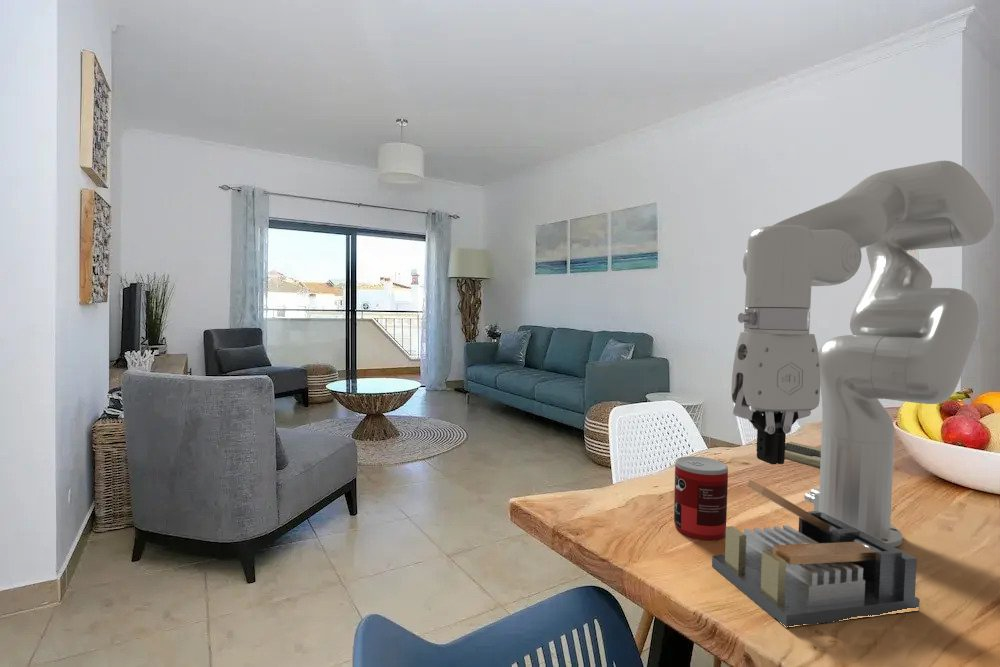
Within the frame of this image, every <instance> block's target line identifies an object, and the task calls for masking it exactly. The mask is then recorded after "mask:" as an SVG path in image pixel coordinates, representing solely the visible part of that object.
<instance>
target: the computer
mask: <svg viewBox="0 0 1000 667" xmlns="http://www.w3.org/2000/svg"><path fill="white" fill-rule="evenodd" d="M785 458H786V460H789V459H790V461H792V460H793V462H797V463H799V462H800V464H803V463H804V464H803V465H807V464H808V466H810V465H811V467H814V466H815V467H814V468H818V467H819V468H818V469H820V462H821V448H819V447H814V446H811V445H806V444H802V443H798V442H794V441H789V442H785Z"/></svg>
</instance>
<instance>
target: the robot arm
mask: <svg viewBox="0 0 1000 667" xmlns="http://www.w3.org/2000/svg"><path fill="white" fill-rule="evenodd" d="M994 221H995V214H994V208H993V205H992V203H991V200H990V198H989V196H988V195H987V194H986V192H985V191H984V189H982V187H981V185H980V184H979V183H978V181H977V180H976V179H975V178H974V176H973V175H972V174H971V172H970V171H968V170H967V169H966V168H965V167H963V166H962V165H961V164H959V163H957V162H954V161H951V160H937V161H932V162H925V163H920V164H915V165H910V166H903V167H898V168H893V169H888V170H882V171H880V172H877V173H874V174H871V175H870V176H867V177H865V178H864V179H863V180H861V181H859V183H857V184H856V185H854V186H853V187H852V188H850V189H849V190H848V191H846V192H845V193H844V194H842V195H841V196H840V197H838V198H837V199H834V200H832V201H829V202H826V203H823V204H821V205H819V206H816V207H814V208H811V209H810V210H805V211H804V212H801V213H799V214H796V215H795V214H794V215H793V216H790V217H788V218H786V219H785V218H784V220H783V219H782V220H781V221H778V222H777V223H775V224H773V225H769V226H763V227H760V228H757V229H754V230H753V231H751V233H750V235H749V236H748V240H747V248H746V249H745V252H744V254H743V260H742V268H743V272H744V274H745V278H746V279H745V301H744V312H740V313H739V314H738V315H737V316H738V317H737V321H738V322H739V323H740V324H743V327H744V328H743V331H741V332H739V336H738V340H737V345H736V349H735V352H734V359H733V366H732V375H731V400H732V402H733V403H734V407H733V411H732V413H733V415H734V416H735V417H739V418H742V419H746V420H748V421H749V422H750V423H751V425H752V428H753V429H754V430H756V432H757V433H756V457H757V458H756V459H758V460H760V461H763V462H765V463H768V464H769V465H784V464H785V443H786V434H790V433H791V431H792V426H793V425H794V424H795V423H796V422H797V420H800V419H804V418H806V417H809V416H811V414H812V411H813V410H816V409H817V408H818V407H819V404H820V401H821V411H822V412H821V413H822V416H821V440H820V442H821V443H820V449H821V462H820V468H819V488H818V487H814V488H812V489H811V490H810V492H807V493H805V494H804V500H805V501H807V502H808V503H809V502H810V504H813V511H819V512H823V513H825V514H827V515H829V516H831V517H833V518H835V519H837V520H839V521H841V522H843V523H845V524H847V525H849V526H851V527H854V528H856V529H858V530H860V531H862V532H864V533H866V534H868V535H870V536H872V537H874V538H876V539H878V540H880V541H882V542H884V543H886V544H888V545H890V546H893V547H895V548H897V547H899V546H901V545H902V543H903V537H904V535H903V534H902V532H901V531H900V530H899V529H898V528H897V527H895V526H894V525H892V524H891V522H892V521H891V518H892V498H893V497H892V495H893V494H892V493H893V477H894V475H893V473H894V472H893V471H894V456H895V455H894V450H895V426H894V422H893V419H892V417H891V416H890V414H889V413H888V412H887V410H886V408H885V407H884V405H883V404H882V402H880V401H879V399H880V400H890V401H891V400H892V401H898V402H906V403H907V402H908V403H915V404H925V405H937V404H941V403H944V402H946V401H947V400H949V399H950V398H951V397H952V395H953V394H954V392H955V391H956V389H957V387H958V384H959V382H960V379H961V377H962V373H963V371H964V369H965V366H966V363H967V361H968V358H969V356H970V353H971V350H972V347H973V345H974V342H975V339H976V336H977V332H978V327H979V320H980V319H979V318H980V317H979V315H980V314H979V313H980V312H979V308H978V304H977V302H976V300H975V299H974V297H973V296H972V295H971V294H970V293H968V292H967V291H966V290H962V289H958V288H955V287H953V288H952V287H932V284H933V277H932V275H931V272H930V271H929V269H927V268H926V266H924V264H923V263H922V262H920V261H919V260H918V259H917V258H915V257H914V256H912V255H911V254H909V252H908V251H914V250H915V251H916V250H927V249H941V248H942V249H943V248H944V249H945V248H954V247H957V248H958V247H965V246H973V245H976V244H979V243H980V242H982V241H983V240H985V239H986V238H987V237H988V236H989V234H990V233H991V231H992V229H993V226H994ZM865 248H866V249H865ZM861 249H865V251H866V255H867V258H868V259H867V260H868V263H869V267H870V277H869V279H868V282H867V284H866V286H865V288H864V290H863V291H862V294H861V295H860V297H859V299H858V301H857V302H856V304H855V307H854V309H853V312H852V314H851V316H850V322H849V327H850V328H849V329H850V332H851V334H847V335H846V334H845V335H839V336H836V337H832V338H830V339H828V340H827V341H825V342H824V343H823V344H822V345H821V346H820V348H819V349H818V344H817V338H816V335H815V334H814V333H813V334H812V333H810V327H811V326H810V325H811V323H810V322H811V305H812V304H811V303H812V300H811V299H812V287H830V286H836V285H841V284H843V283H845V282H847V281H849V280H850V279H851V278H853V277H854V276H855V275H856V273H857V272H858V270H859V268H860V266H861V263H862V258H863V257H862V250H861ZM820 399H821V400H820Z"/></svg>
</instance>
